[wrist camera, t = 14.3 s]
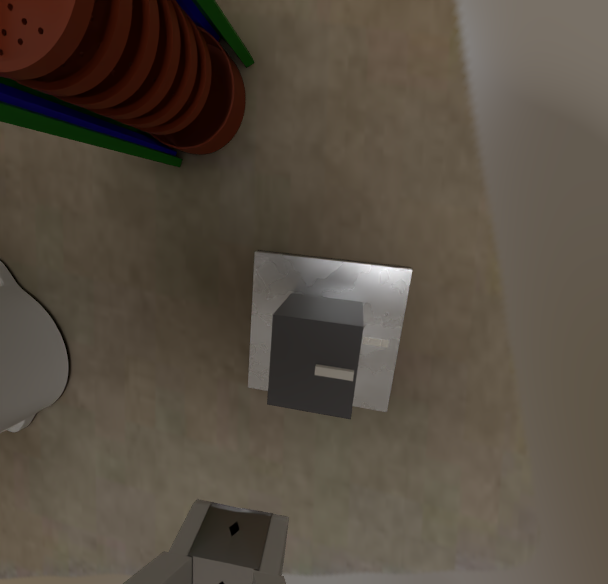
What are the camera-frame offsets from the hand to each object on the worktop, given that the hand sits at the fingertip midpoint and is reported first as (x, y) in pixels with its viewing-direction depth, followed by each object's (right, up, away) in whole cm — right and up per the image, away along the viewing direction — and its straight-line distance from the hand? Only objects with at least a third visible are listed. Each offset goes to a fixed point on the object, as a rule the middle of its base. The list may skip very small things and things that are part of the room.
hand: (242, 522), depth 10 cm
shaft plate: (+4, +4, +16) cm, 17 cm away
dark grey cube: (+3, +4, +15) cm, 16 cm away
